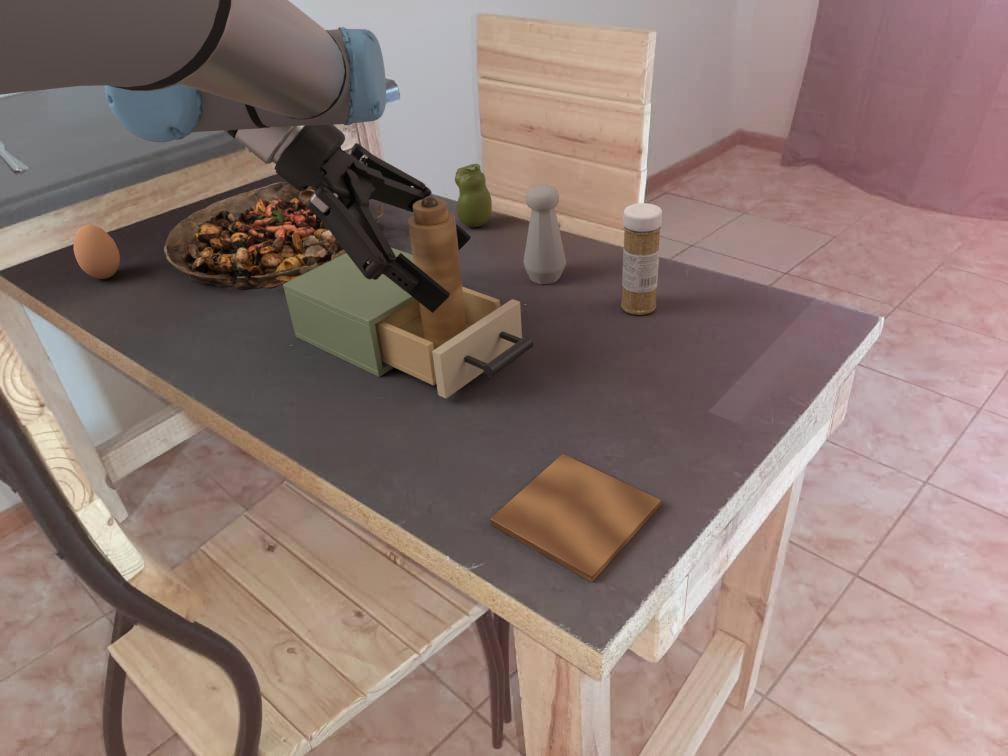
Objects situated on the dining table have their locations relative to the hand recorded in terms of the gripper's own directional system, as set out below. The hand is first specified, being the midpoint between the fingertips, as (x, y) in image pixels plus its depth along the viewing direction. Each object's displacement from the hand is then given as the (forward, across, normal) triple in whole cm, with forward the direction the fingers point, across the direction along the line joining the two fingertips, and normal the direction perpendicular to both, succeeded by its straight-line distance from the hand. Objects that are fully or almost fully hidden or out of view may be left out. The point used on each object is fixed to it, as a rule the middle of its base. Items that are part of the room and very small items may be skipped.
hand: (453, 272), depth 85 cm
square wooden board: (+18, +25, +2) cm, 31 cm away
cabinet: (0, -6, -17) cm, 18 cm away
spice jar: (+23, -13, +6) cm, 27 cm away
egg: (-32, -20, -49) cm, 62 cm away
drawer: (+7, +1, -8) cm, 11 cm away
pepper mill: (+6, 0, -8) cm, 10 cm away
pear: (+5, -38, -12) cm, 40 cm away
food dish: (-16, -32, -33) cm, 48 cm away
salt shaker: (+14, -21, -3) cm, 25 cm away
